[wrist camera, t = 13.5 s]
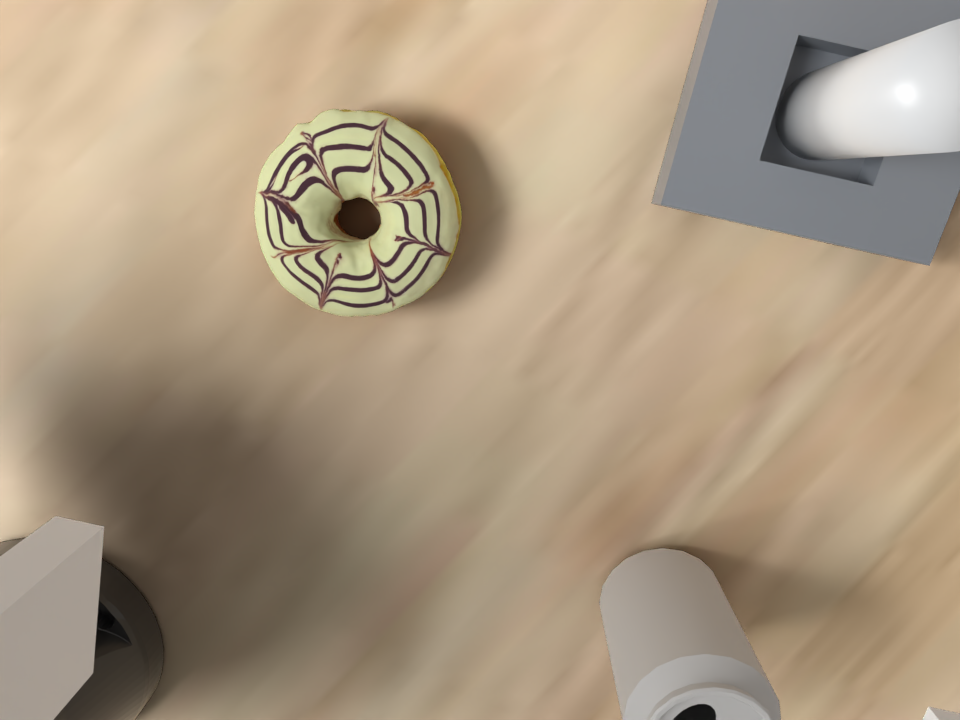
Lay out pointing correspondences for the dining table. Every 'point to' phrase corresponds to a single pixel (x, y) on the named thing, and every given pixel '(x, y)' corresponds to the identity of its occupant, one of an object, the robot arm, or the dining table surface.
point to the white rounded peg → (879, 101)
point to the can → (679, 643)
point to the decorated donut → (348, 175)
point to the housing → (757, 146)
